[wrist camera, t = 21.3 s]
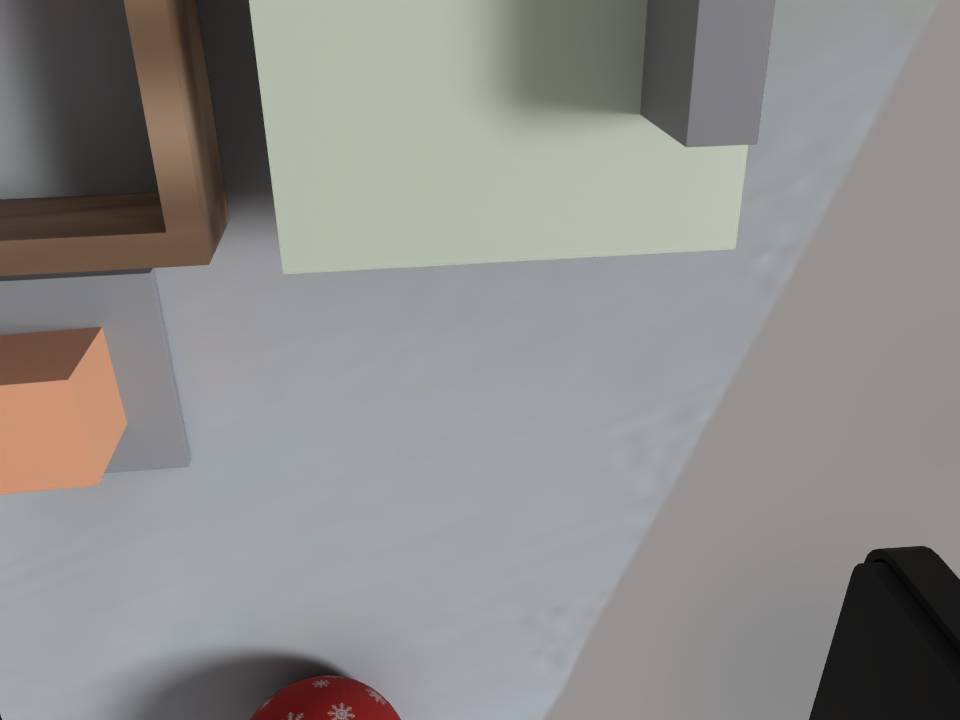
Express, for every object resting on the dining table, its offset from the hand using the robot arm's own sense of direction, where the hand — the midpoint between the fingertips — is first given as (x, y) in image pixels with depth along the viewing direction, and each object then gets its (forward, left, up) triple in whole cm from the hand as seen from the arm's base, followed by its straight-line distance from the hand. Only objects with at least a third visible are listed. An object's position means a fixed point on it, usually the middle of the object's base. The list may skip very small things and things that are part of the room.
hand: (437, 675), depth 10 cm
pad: (+9, -14, -27) cm, 32 cm away
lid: (-5, +4, -22) cm, 22 cm away
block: (+9, -14, -26) cm, 31 cm away
